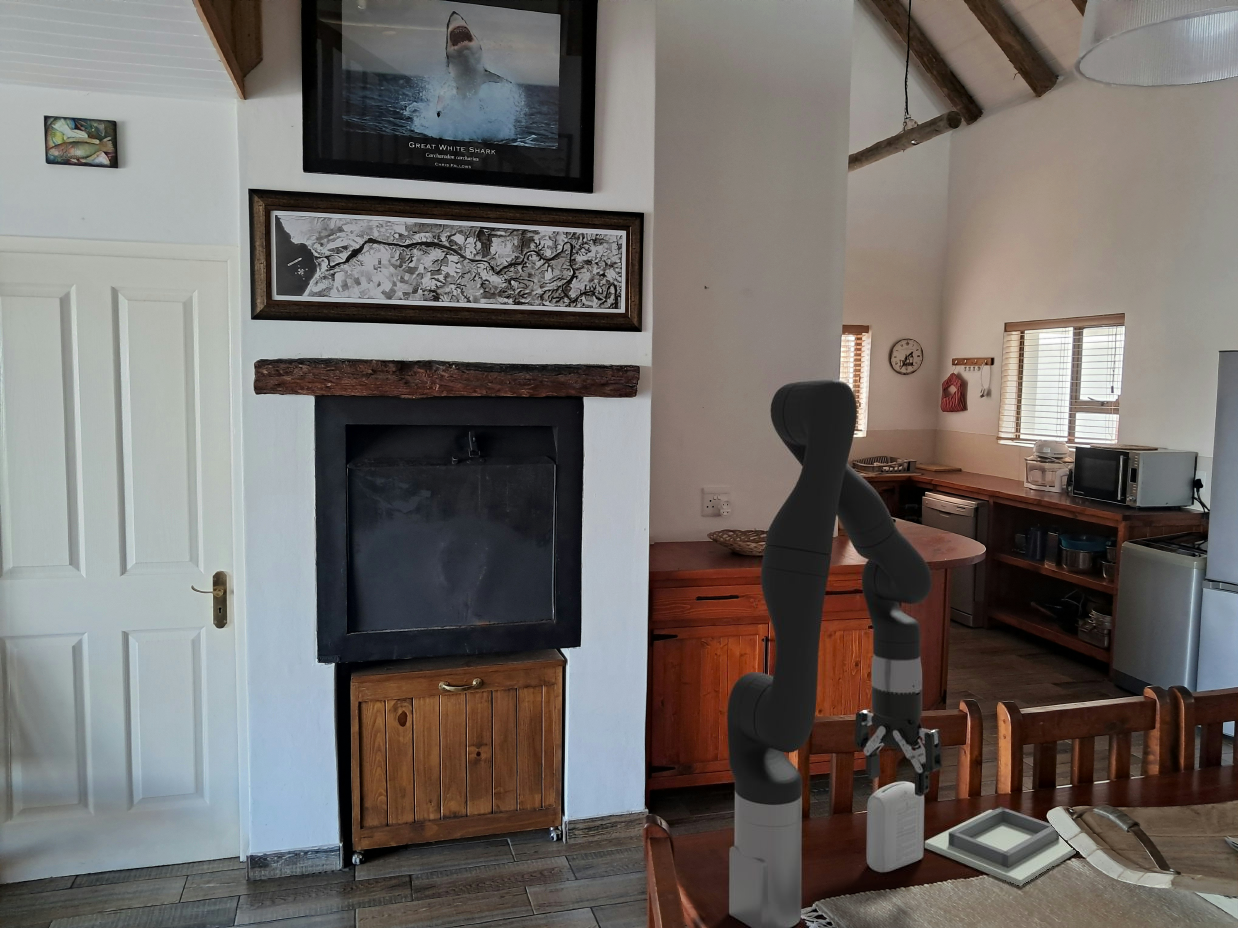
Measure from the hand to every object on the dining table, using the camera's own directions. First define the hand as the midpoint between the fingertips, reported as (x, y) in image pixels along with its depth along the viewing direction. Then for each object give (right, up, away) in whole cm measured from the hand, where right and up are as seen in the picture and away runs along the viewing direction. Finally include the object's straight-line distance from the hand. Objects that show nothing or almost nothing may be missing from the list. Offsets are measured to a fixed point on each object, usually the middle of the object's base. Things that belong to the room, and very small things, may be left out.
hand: (896, 785), depth 139 cm
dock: (+19, -12, +5) cm, 23 cm away
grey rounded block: (0, -12, 0) cm, 12 cm away
